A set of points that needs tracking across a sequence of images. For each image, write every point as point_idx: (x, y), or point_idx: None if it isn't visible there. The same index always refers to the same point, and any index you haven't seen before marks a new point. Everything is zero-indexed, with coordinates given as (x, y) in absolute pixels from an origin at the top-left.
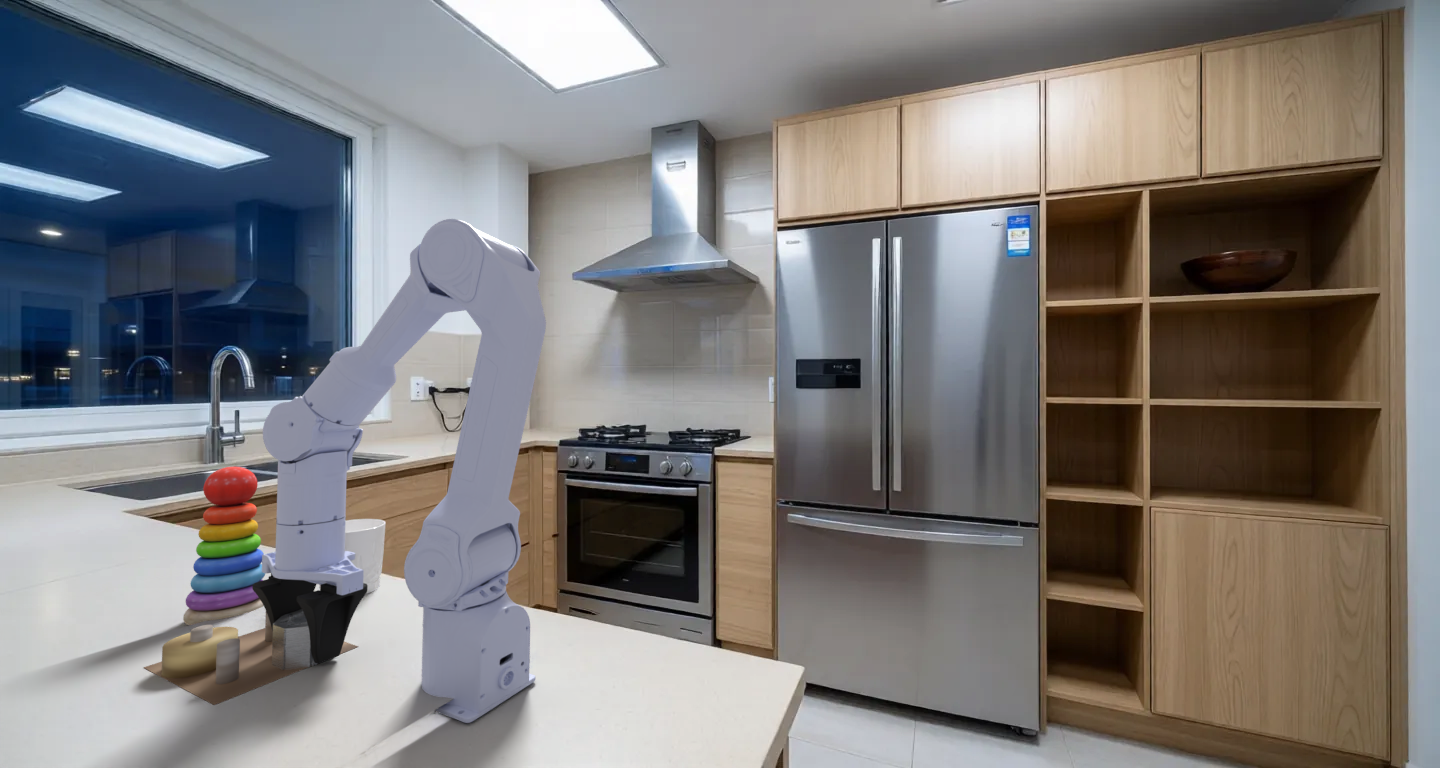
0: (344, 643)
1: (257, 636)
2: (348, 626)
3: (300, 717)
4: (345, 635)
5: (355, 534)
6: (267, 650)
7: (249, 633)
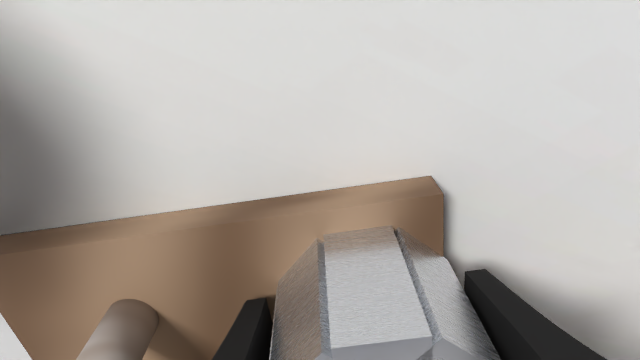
0: (372, 211)
1: (74, 338)
2: (557, 326)
3: (591, 344)
4: (528, 304)
5: None
6: None
7: (26, 345)
